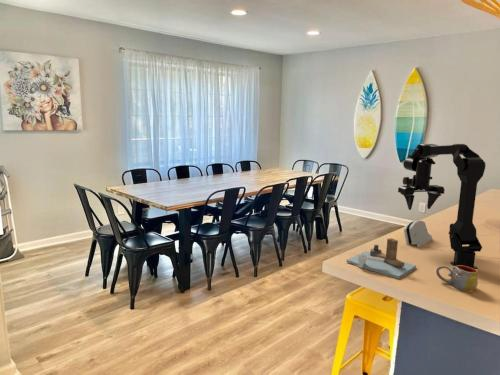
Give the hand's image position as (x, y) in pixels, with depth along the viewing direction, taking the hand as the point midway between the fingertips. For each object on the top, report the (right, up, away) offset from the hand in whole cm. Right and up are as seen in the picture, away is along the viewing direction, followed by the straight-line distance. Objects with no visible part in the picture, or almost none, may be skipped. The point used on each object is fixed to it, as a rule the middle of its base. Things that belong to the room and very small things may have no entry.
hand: (419, 209), depth 161 cm
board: (-25, -19, -24) cm, 39 cm away
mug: (-6, -23, -40) cm, 46 cm away
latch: (-23, -17, -23) cm, 36 cm away
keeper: (-30, -20, -27) cm, 45 cm away
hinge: (+1, -15, +4) cm, 15 cm away
